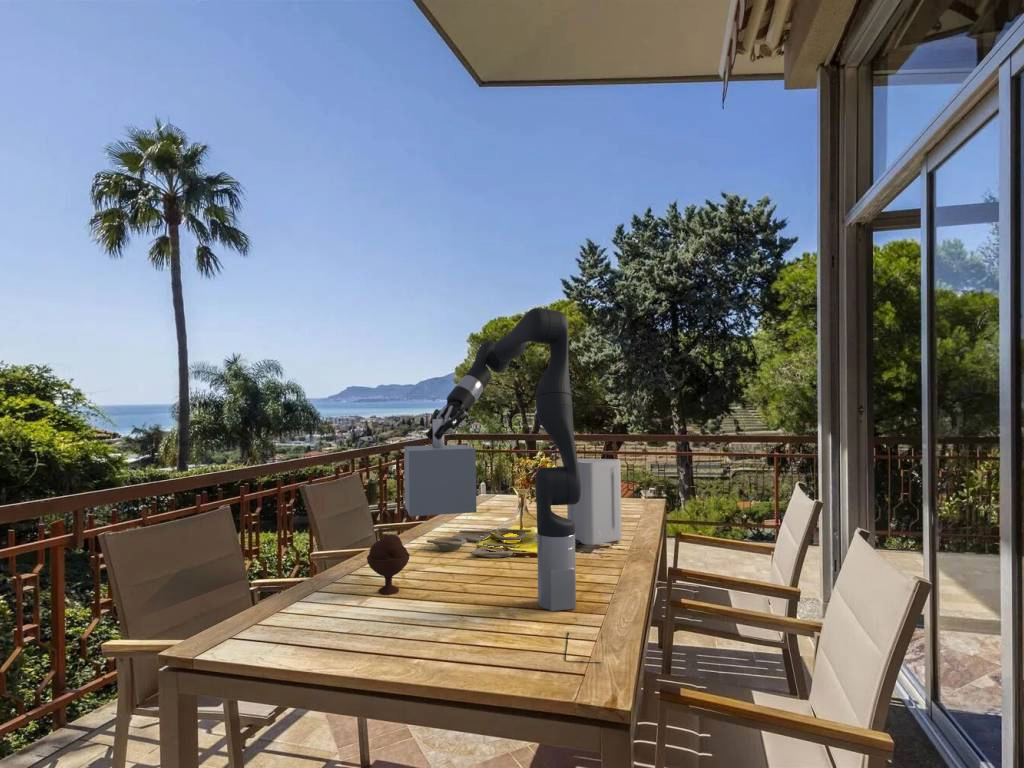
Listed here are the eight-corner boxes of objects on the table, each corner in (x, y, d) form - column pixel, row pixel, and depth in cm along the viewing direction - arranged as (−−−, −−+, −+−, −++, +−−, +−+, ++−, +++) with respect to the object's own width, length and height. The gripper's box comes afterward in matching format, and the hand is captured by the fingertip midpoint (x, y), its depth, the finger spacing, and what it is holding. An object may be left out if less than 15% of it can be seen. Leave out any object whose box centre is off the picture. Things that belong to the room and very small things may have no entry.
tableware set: (505, 562, 187) (505, 549, 187) (420, 555, 197) (420, 543, 197) (537, 537, 221) (537, 526, 221) (463, 533, 230) (463, 522, 230)
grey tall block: (561, 543, 210) (560, 462, 211) (569, 534, 224) (568, 458, 225) (616, 546, 205) (615, 463, 206) (621, 536, 219) (620, 459, 220)
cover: (476, 512, 164) (475, 419, 165) (409, 516, 160) (408, 420, 161) (465, 502, 182) (464, 418, 183) (404, 505, 177) (404, 419, 178)
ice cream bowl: (413, 585, 164) (413, 529, 164) (402, 598, 152) (402, 539, 153) (375, 584, 165) (375, 529, 165) (361, 598, 154) (361, 538, 154)
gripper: (443, 385, 182) (410, 428, 173) (473, 384, 172) (439, 428, 163) (457, 403, 186) (425, 445, 177) (488, 402, 176) (455, 447, 167)
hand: (432, 437), depth 170 cm, fingers closed on cover, 3 cm apart
